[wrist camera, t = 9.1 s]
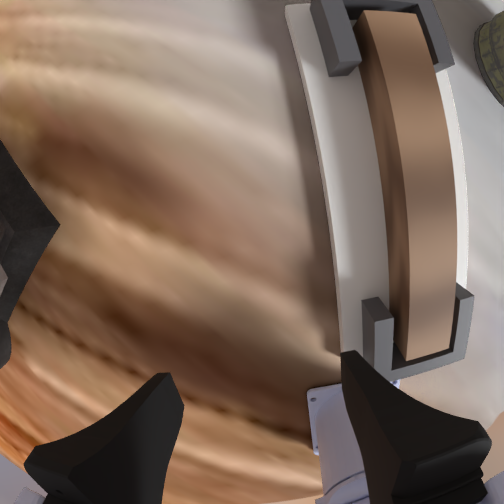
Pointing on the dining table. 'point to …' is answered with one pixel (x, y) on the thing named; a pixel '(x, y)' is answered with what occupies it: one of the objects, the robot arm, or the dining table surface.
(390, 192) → the walnut slat
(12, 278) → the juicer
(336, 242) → the end cap cradle
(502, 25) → the olive stone pillar
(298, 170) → the dining table surface
